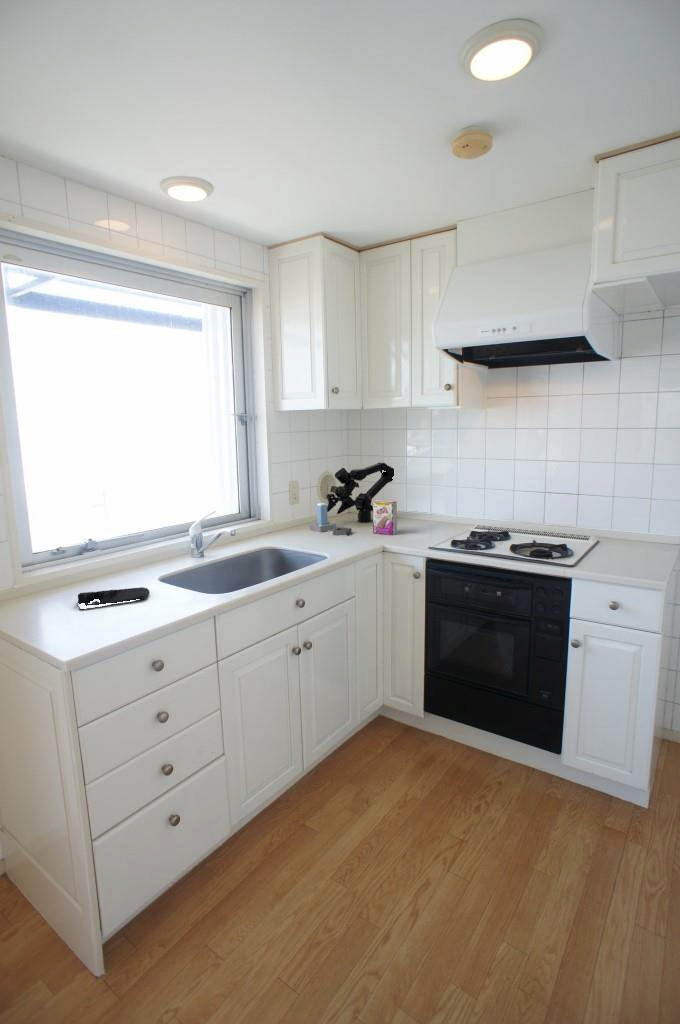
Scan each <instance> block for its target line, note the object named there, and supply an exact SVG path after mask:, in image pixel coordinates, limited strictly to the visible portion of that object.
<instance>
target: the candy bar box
mask: <svg viewBox="0 0 680 1024" xmlns="http://www.w3.org/2000/svg"><path fill="white" fill-rule="evenodd" d="M397 504H398V503H397V501H396V500H385V499H384V500H383V499H375V500H372V506H373V511H372V520H373V521H372V528H373V529H372V532H373V534H377V533H380V534H379V535H387V534H390V535H389V536H394V535H396V534H398V516H397V515H398V512H397V509H398V507H397ZM393 534H394V535H393Z"/></svg>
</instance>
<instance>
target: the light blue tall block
mask: <svg viewBox="0 0 680 1024" xmlns="http://www.w3.org/2000/svg"><path fill="white" fill-rule="evenodd" d="M315 507H316V510H315V511H316V523H317V525H327V524H328V522H329V520H328V512H327V507H328V504H327V503H326V502H325V503H324V502H320V503H317V504H316V506H315Z"/></svg>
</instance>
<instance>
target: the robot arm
mask: <svg viewBox="0 0 680 1024" xmlns="http://www.w3.org/2000/svg"><path fill="white" fill-rule="evenodd" d="M394 469H395V468H393V467H392V466H390V465H388V464H387V463H385V462H377V463H375V464H373V465H370V466H367V467H364V468H356V469H352V470H350V472H348V471H347V469H346V468H344V467H341V468H340V469H339V470H337V472H335V473H334V477H335V479H336V480H337V481H338V482H339V483H340V484H343V486H342V485H339V486H334V485H332V486H330V491H329V492H330V493H327V494H326V500H327V501H328V503H327V513H329V512H330V511H331V510H332V509H333V508H335V506H337V503H339V502H341V505H340V506H339V508H338V509H337V512H336V514H337V515H340V514H341V513H344V512H345V511H347V510H348V509H350V508H352V507H355V508H356V511H358V513H357V520H356V521H357V522H358V521H360V522H359V523H362V522H365V523H369V521H372V522H373V519H372V512H373V504H372V503H373V499H374V497H376V496H377V494H378V493H380V492H381V490H383V488H384V487H385V486H386V485H387V484H389V483H390V482H391V483H392V482H393V481H394V480H393V479H392V477H393V476H394ZM382 470H384V471H386V472H383V473H382ZM378 472H380V474H381V475H380V478H379V479H378V480H377V481H376V482H375V483H374V484H373V485H372V486H371V487H370V488H369V489H368V490H366V492H365V493H362V492H360V493H359V494H358V495H357V496H356V497H355V499H353V497H352V496H353V491H354V490H355V488H358V489H359V488H360V485H359V482H357V481H360V482H361V481H364V479H366V477H367V476H370V475H372V474H376V473H378ZM392 480H393V481H392Z"/></svg>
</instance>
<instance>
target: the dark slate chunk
mask: <svg viewBox="0 0 680 1024" xmlns="http://www.w3.org/2000/svg"><path fill="white" fill-rule="evenodd" d="M149 594H150V589H149V588H147V587H132V588H129V587H128V588H121V589H108V590H107V589H106V590H98V591H88V592H87V591H86V592H80V593H78V594H77V604H78V603H79V604H81V603H85V605H86V606H87V605H99V604H106V603H117V602H123V601H130V600H136V599H142V598H145V599H146V598H147V597H148V595H149ZM94 599H99V600H100V603H99V602H96V603H94V604H88V603H90V601H93V600H94ZM142 600H143V599H142Z"/></svg>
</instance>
